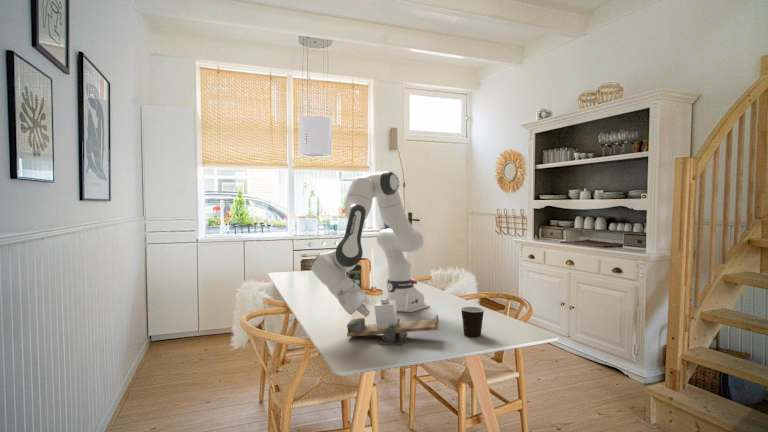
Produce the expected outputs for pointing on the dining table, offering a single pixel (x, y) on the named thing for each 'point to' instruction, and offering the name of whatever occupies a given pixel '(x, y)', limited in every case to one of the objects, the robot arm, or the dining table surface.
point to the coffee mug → (472, 321)
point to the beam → (359, 328)
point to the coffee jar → (355, 274)
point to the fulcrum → (392, 337)
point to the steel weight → (386, 314)
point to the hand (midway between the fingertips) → (368, 315)
